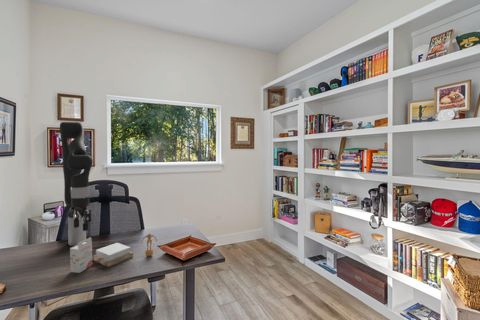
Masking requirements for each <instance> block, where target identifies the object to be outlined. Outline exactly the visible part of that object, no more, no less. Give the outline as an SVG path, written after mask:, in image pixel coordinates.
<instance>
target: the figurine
mask: <svg viewBox="0 0 480 320" xmlns="http://www.w3.org/2000/svg"><path fill="white" fill-rule="evenodd" d="M156 237H157V236H155V235H153V234H151V233H148V234H146V235H145V236H143V237H142V239H141V242H140V244H142V243H143V241H144V239H145V238H147V239H146V246H147V248H146V250H145V256H147V257H151V256H152V255H153V254H154V251H153V250H154V249H152V241H153V240H152V238H154V240H155V242H156V243H157V242H158V239H157V238H156ZM149 244H150V245H149Z"/></svg>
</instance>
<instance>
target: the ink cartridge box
mask: <svg viewBox="0 0 480 320" xmlns="http://www.w3.org/2000/svg"><path fill="white" fill-rule="evenodd" d="M69 257H70V258H69V259H70V261H69V262H70V273H75V274H76V273H77V274H81V272H83V271H84V270H87V269H88V268H90V267H92V266H93V242H92V237H91V236H90V237H88V238H86V239H85V240H83V241H81V242H79V243H78V245H76V246H72V247H70V248H69Z"/></svg>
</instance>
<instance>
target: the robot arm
mask: <svg viewBox="0 0 480 320" xmlns="http://www.w3.org/2000/svg"><path fill="white" fill-rule="evenodd" d="M84 129H85V128H84V125H83V124H82V123H81V122H78V121H77V122H76V121H75V122H74V121H73V122H72V121H62V122H60V124H59V134H60V135H59V136H60V141H61V142H60V143H61V149H62V150H61V151H62V153H61V154H62V171H63V179H64V181H63V182H64V195H63V197H64V204H65V205H66V206H70V210H69V211H68V212H67V231H68V233H67V235H68V237H67V238H68V239H67V240H68V242H67V243H68V245H69V246H70V247H71V246H72V247H74V246H77V245H78V243H79V242H81V241H83V240H85V239H87V231H89V223H90V222H92V210H91V209H87V207H88V206H89V205H90V187H89V177H90V171H91V169H92V167H93V161H94V160H93V157H92V156H91V155H89V154H87V151H86V148H85V147H86V146H85V130H84ZM68 139H70V143H69V140H68ZM71 139H72V140H71Z"/></svg>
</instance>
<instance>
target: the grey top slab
mask: <svg viewBox="0 0 480 320" xmlns="http://www.w3.org/2000/svg"><path fill="white" fill-rule="evenodd" d="M130 252H131V247H130V246H128V245H125V244H122V243H120V242H115V243H113V244H109V245H107V246H104V247H100V248H97V249H95V255H96V256H98V257H101V258H103V259H106V260H108V261H111V260H113V259H116V258H118V257H121V256H123V255H126V254H128V253H130Z"/></svg>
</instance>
